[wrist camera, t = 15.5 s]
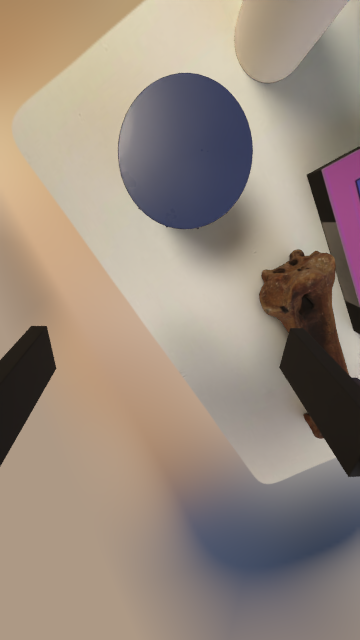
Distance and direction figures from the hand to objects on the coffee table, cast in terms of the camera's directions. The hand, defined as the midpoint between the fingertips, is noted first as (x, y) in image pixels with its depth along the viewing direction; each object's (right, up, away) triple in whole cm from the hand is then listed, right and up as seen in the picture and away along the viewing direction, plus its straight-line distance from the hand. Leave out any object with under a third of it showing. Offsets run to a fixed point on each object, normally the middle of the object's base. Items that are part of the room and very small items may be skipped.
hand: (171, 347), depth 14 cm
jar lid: (+1, +12, +2) cm, 12 cm away
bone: (+19, -3, +22) cm, 29 cm away
